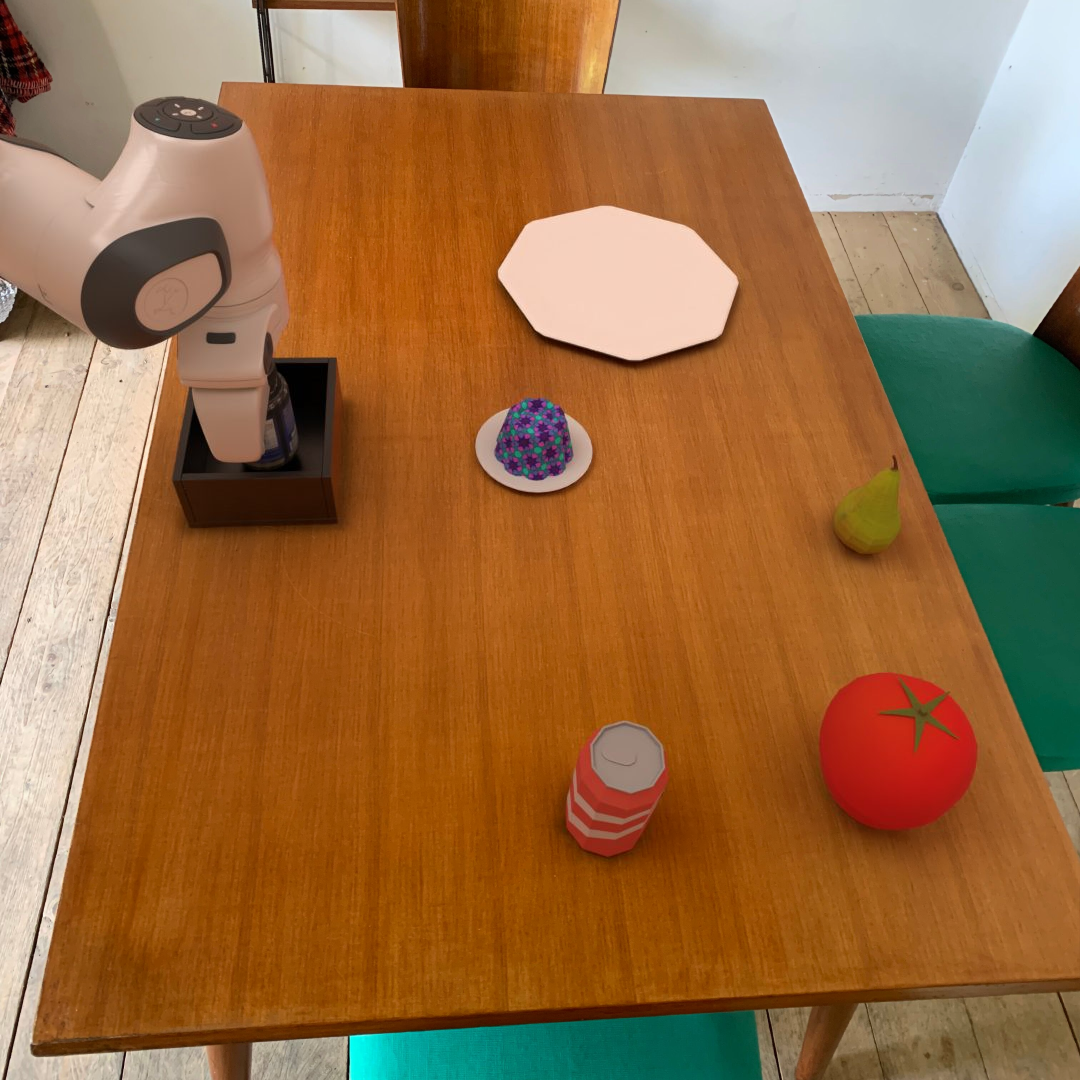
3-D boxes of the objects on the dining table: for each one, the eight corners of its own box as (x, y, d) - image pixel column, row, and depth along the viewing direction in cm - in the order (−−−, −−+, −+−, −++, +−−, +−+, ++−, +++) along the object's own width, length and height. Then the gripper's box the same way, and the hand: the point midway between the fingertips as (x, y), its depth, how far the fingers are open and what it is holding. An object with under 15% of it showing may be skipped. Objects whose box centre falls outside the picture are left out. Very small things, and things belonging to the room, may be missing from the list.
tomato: (950, 850, 72) (1031, 787, 62) (817, 857, 71) (879, 795, 61) (904, 718, 79) (971, 643, 69) (783, 723, 78) (833, 647, 68)
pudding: (508, 395, 99) (510, 358, 95) (609, 436, 96) (617, 400, 92) (453, 468, 92) (453, 432, 88) (561, 514, 90) (566, 479, 85)
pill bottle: (268, 418, 92) (249, 331, 83) (313, 446, 90) (298, 361, 81) (221, 453, 88) (196, 367, 80) (267, 484, 87) (246, 399, 78)
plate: (703, 390, 102) (706, 380, 100) (470, 324, 105) (471, 313, 104) (749, 252, 118) (752, 242, 117) (546, 198, 122) (547, 188, 120)
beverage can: (575, 771, 74) (593, 703, 64) (651, 795, 73) (682, 730, 64) (554, 842, 70) (570, 782, 61) (634, 869, 70) (664, 812, 60)
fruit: (897, 563, 89) (950, 483, 80) (837, 568, 88) (884, 488, 79) (872, 511, 93) (920, 429, 83) (815, 516, 92) (857, 434, 82)
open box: (189, 527, 85) (171, 480, 80) (208, 407, 94) (194, 357, 89) (338, 523, 87) (330, 476, 81) (343, 406, 96) (336, 356, 91)
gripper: (208, 224, 80) (237, 345, 92) (173, 387, 68) (211, 504, 79) (282, 225, 81) (301, 345, 92) (260, 387, 69) (286, 503, 80)
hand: (259, 420), depth 86 cm, fingers closed on pill bottle, 6 cm apart
